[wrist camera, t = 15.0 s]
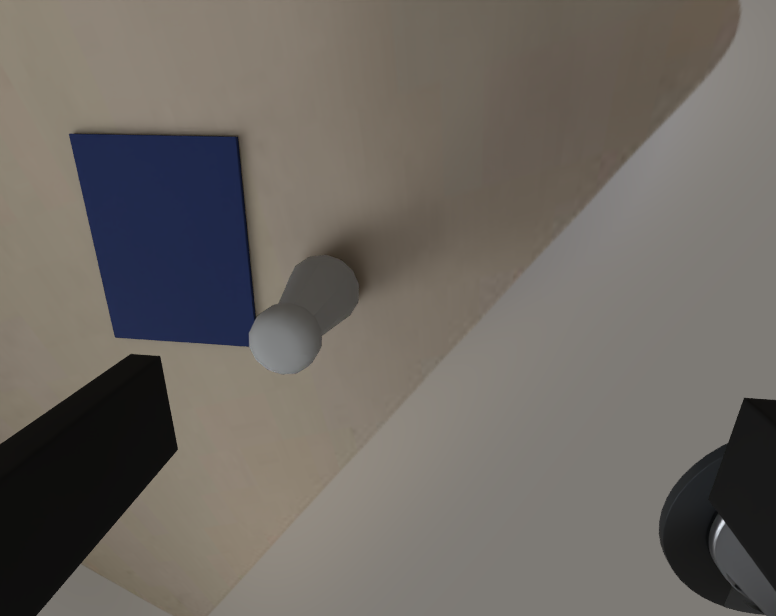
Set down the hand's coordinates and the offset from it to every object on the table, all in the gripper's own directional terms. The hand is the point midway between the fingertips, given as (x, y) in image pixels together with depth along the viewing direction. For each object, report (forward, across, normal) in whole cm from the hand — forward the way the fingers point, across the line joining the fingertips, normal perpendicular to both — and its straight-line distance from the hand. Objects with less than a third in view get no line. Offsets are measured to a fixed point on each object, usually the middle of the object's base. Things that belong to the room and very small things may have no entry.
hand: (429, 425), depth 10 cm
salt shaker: (+27, -9, -5) cm, 29 cm away
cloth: (+27, -23, -3) cm, 35 cm away
